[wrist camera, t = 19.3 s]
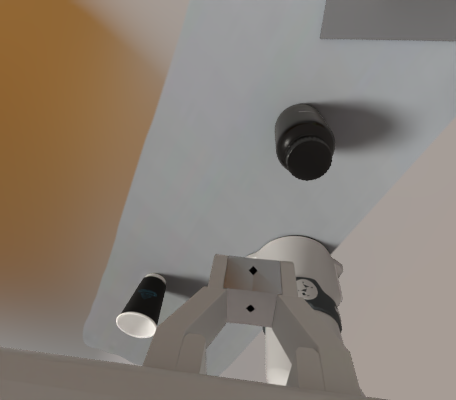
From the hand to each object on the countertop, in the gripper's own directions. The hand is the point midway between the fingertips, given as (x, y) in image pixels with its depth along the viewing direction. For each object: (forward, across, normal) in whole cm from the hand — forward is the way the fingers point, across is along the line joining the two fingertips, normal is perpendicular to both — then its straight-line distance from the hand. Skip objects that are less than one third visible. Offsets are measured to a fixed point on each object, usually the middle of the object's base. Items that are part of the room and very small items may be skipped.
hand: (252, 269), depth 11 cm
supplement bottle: (+32, -6, +4) cm, 33 cm away
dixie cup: (+32, +20, +40) cm, 55 cm away
